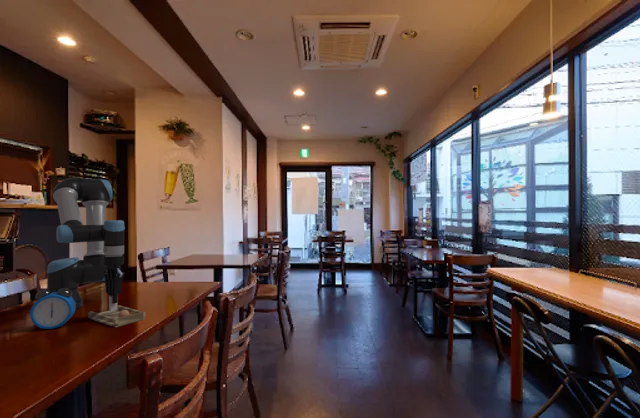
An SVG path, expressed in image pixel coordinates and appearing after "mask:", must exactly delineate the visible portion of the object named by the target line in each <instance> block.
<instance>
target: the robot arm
mask: <svg viewBox="0 0 640 418" xmlns="http://www.w3.org/2000/svg"><path fill="white" fill-rule="evenodd" d="M112 188H113V187H112V184H111V182H110V180H107V179H102V178H88V177H76V176H75V177H69V178H65V179H62V180H60V181H59V182H58V183H57V184H56V185H55V186H54V188H53V191H52V198H53V200H54V202H56V204H57V206H56V207H57V210H58V216H59V220H60V225H58V226H56V233H55V236H56V241H57V243H61V244H73V243H74V244H77V243H86V253H85V254H84V255H83V258H82V259H80V258H79V257H78V256H77V257H67V258H65V257H64V258H60V259H56V260H53V261H50V262H49V263H48V265H47V271H46V274H47V277H46V278H47V279H46V280H47V281H46V289H48V290H50V291H51V292H50V293H53V292H58V290H59V289H61V288H68V289H70V290H71V291H72V295H71V297H72V298H73V299H74V301H75V303H76V309H79V308H81V307H83V299H82V297H81V294H80V290H79V285H81V284H84V285H85V284H91V283H99V282H100V283H101V282H104V285H105V286H104V287H105V293H106V294H107V295H108V311H115V310H117V305H118V301H119V300H118V296H119V295H121V294H122V288H123V287H122V286H123V281H124V276H125V272H124V271H123V272H122V267H121V266H122V265H124V264H125V256H124V254H125V230H126V227H125V221H124V220H122V219H118V220H117V219H115V220H114V219H113V220H112V219H110V220H109V219H108V220H107V209H106V208H107V206H108V205H109V204H110V202H111V201H112V200H113V189H112ZM78 201H81V205H83V206H84V207H85V222H86V223H85V224H84V223H83V220H82V215H81V212H80V209H79V208H80V207H79V204H78ZM53 290H56V291H53ZM50 293H48V294H50Z"/></svg>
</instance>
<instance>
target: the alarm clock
mask: <svg viewBox="0 0 640 418" xmlns="http://www.w3.org/2000/svg"><path fill="white" fill-rule="evenodd" d="M53 291H56V290H53ZM50 292H51V291H50V290H48V289H47V288H46V289H45V288H44V289H40V290H39V291H38V292H37V293H36V294H35V299H36V301H35V302H34V303H33V304H32V306H31V307H30V311H29V318H30V320H31V322H32V323H33V325H35V326H36V327H38V328H39V330H40V331H42V329H47V330H52V329H56V328H60V327H61V328H63V327H64V326H63V325H64V324H66V323H67V322H68V321H69V320H70V319H71V318H72V317H73V316H74V314H75V312H76V309H77V308H76V303H75V301H74V299H73V298H72V297H71V295H72V291H71V290H70V289H68V288H61V289H59V290H58V292H53V293H50ZM48 293H50V294H48Z"/></svg>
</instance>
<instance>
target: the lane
mask: <svg viewBox="0 0 640 418" xmlns="http://www.w3.org/2000/svg"><path fill="white" fill-rule="evenodd" d="M123 310H127V311H128V312H129V315H127V316H123V317H120V318H119V317H118V314H119V313H120V312H121V311H123ZM146 315H147V313H146V311H141V310H137V309H133V308H131V307H128V306H127V307H126V306H123V305H118V304H117V310H115V311H109V310H106V311H103V312H95V311H88V319H90V320H93V321H96V322H99V323H101V324H105V325H108V326H110V327H113V328H118V327H122V326H126V325H129V324H133V323H136V322H140V321H144V320H146V319H147V318H146Z"/></svg>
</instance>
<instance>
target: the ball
mask: <svg viewBox="0 0 640 418" xmlns="http://www.w3.org/2000/svg"><path fill="white" fill-rule="evenodd" d="M129 314H130V313H129V312H128V311H127V310H123V311H121V312H120V313H119V314H118V317H119V318H120V317H123V316H127V315H129Z"/></svg>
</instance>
